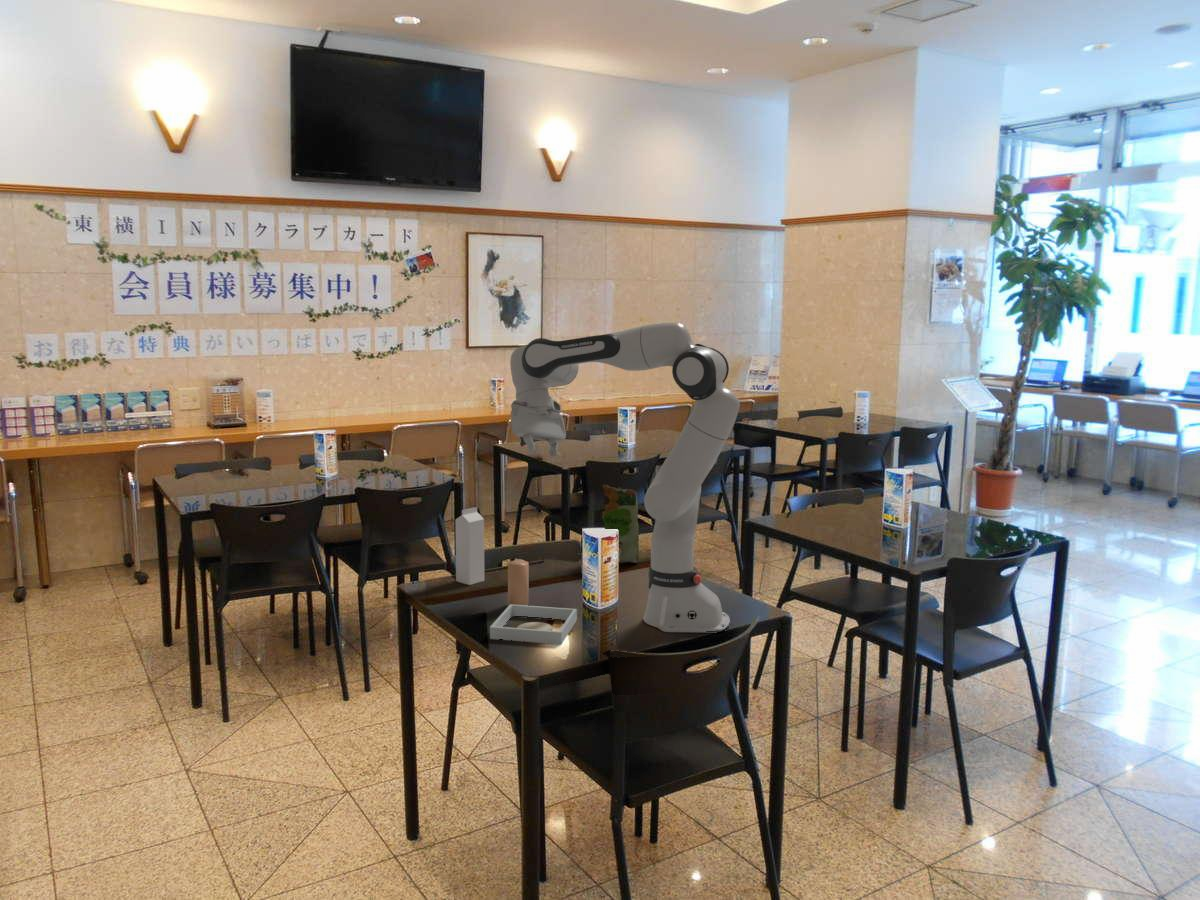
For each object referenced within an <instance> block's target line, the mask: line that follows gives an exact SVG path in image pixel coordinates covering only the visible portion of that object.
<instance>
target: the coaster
mask: <svg viewBox="0 0 1200 900" xmlns="http://www.w3.org/2000/svg"><path fill="white" fill-rule="evenodd" d="M516 628H523V629H536V630H549V631H553V626H552V625H551V624H550V623H546V622H540V621H532V622H531V621H530V622H525V623H520V624H519V625H517V627H516Z"/></svg>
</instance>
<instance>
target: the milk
mask: <svg viewBox="0 0 1200 900" xmlns="http://www.w3.org/2000/svg"><path fill="white" fill-rule="evenodd" d="M454 525H455V577H456V578H455V579H456V580H455V581H456V582H458V583H461V584H464V585H468V586H472V585H474V584H478V583H481V582H484V581H485V519H484V517H483V516H482V515H481V514H480V513H479V512H478V507H477V506H475V507H470V508H466V509H462V510H461V515H460V516H459V517H457V518H456V519H455V523H454Z"/></svg>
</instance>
